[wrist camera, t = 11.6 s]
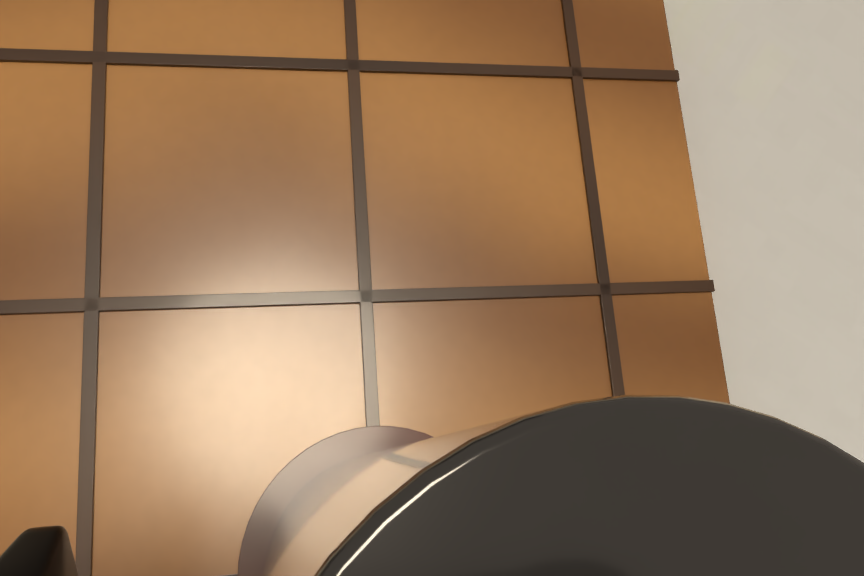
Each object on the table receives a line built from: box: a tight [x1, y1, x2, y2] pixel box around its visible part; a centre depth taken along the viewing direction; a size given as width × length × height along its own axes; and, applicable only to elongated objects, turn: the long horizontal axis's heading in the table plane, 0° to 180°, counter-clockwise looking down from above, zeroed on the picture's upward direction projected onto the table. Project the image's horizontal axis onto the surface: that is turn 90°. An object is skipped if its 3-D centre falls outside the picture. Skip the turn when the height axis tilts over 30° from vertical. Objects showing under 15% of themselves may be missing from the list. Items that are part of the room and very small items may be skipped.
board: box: [0, 0, 730, 576], centre depth 18 cm, size 18×18×1 cm
